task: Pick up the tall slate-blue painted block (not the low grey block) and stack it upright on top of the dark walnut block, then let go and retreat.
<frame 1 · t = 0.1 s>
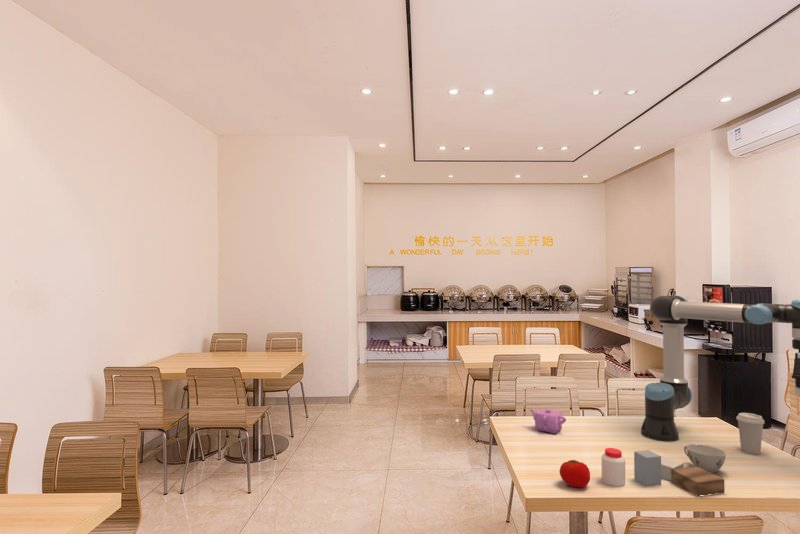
teapot: (547, 430, 219), on the table
tomato: (574, 485, 161), on the table
pill bottle: (613, 482, 164), on the table
coffee cup: (750, 451, 193), on the table
teacup: (703, 469, 175), on the table
walnut block: (697, 488, 159), on the table
slate block: (647, 481, 164), on the table
grey block: (667, 475, 170), on the table
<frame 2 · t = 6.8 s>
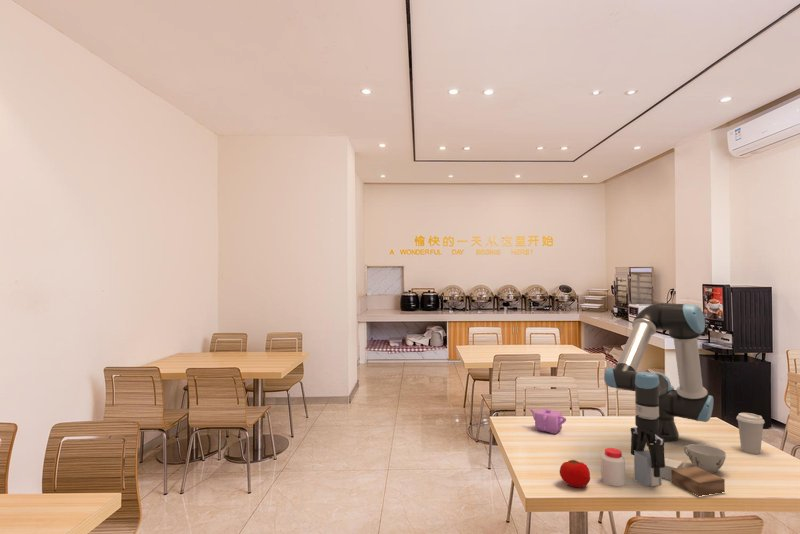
hand: (647, 481, 164), 0 cm above the table, fingers closed on slate block, 6 cm apart
slate block: (647, 481, 164), on the table, touching gripper
when the fingers open (6 cm above the table, at t = 12.4 s): slate block drops 1 cm, point 5 cm above the table.
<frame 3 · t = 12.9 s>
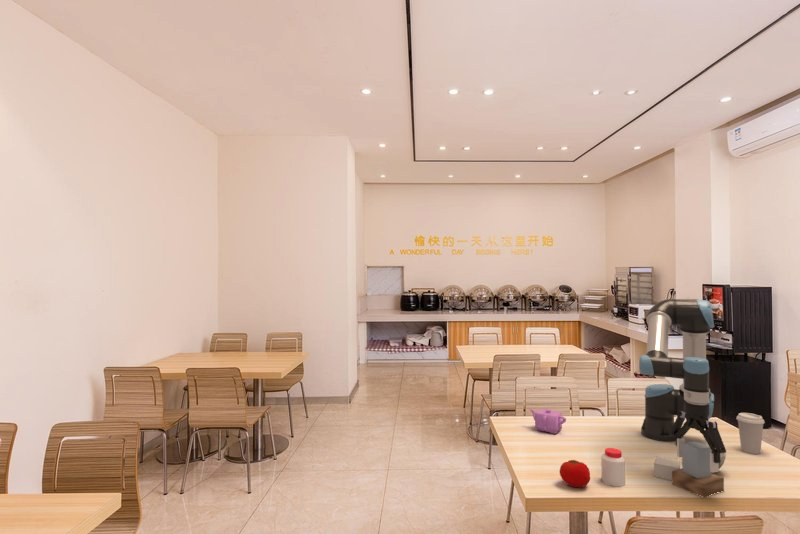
hand: (697, 463, 160), 8 cm above the table, fingers open, 13 cm apart
slate block: (696, 473, 160), point 5 cm above the table
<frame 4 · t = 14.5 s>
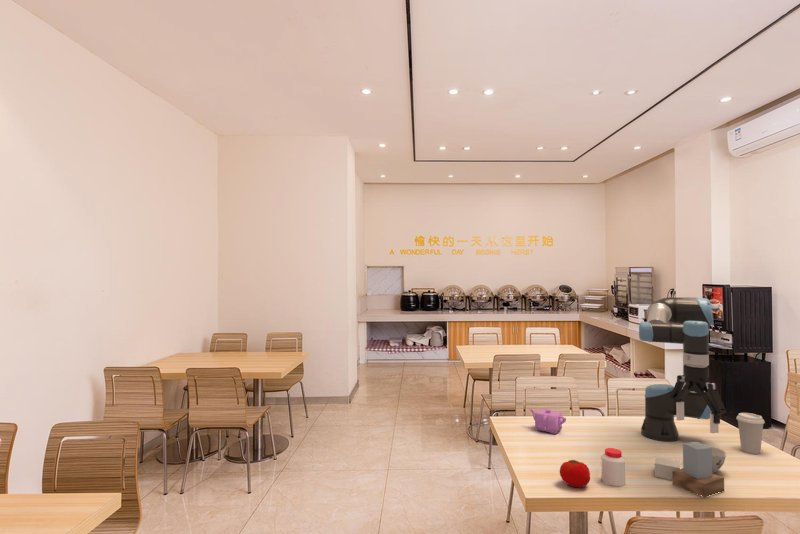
hand: (696, 426, 160), 21 cm above the table, fingers open, 13 cm apart
walnut block: (698, 488, 159), on the table, touching slate block
slate block: (697, 474, 159), point 5 cm above the table, touching walnut block
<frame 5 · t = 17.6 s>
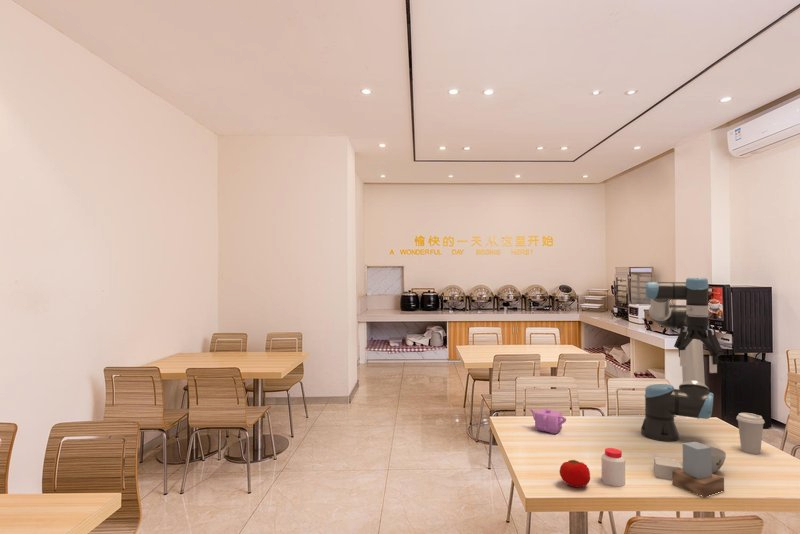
hand: (697, 369, 182), 37 cm above the table, fingers open, 13 cm apart
at the end: slate block inside the target area on the walnut block (0.3 cm from its centre), point 5.1 cm above the walnut block's base; slate block tilted 1°; the gripper is holding nothing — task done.
